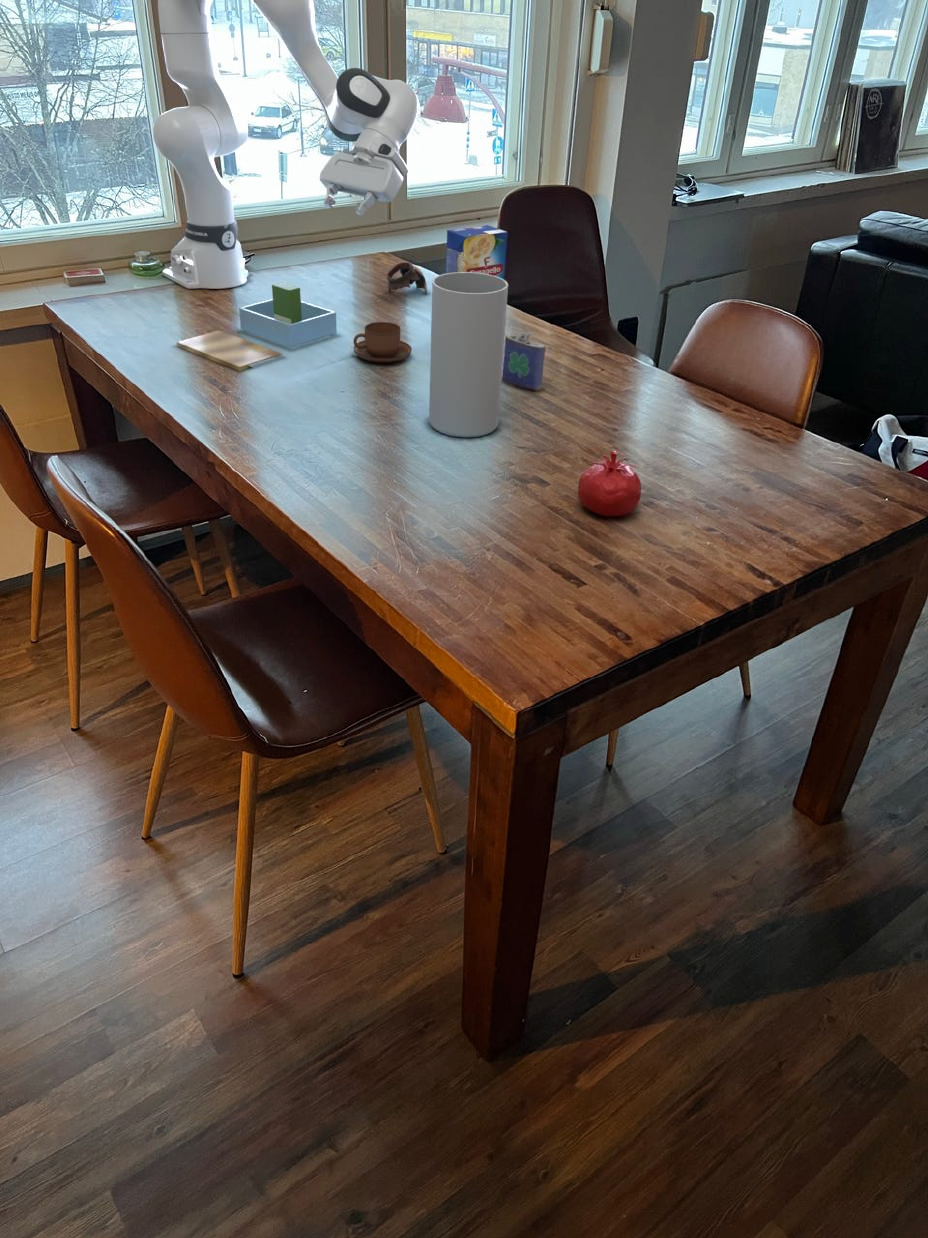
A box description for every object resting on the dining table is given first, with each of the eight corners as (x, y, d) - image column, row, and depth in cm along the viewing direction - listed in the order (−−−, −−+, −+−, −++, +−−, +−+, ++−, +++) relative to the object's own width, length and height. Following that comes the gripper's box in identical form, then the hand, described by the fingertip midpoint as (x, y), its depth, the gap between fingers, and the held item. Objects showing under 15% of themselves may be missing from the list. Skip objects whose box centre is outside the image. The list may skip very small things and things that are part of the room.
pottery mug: (432, 299, 230) (417, 271, 224) (397, 314, 232) (382, 287, 226) (428, 273, 237) (414, 246, 231) (395, 288, 240) (380, 262, 234)
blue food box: (500, 334, 209) (507, 231, 196) (461, 342, 203) (466, 237, 190) (482, 326, 213) (487, 224, 200) (443, 333, 208) (446, 229, 195)
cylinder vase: (464, 405, 175) (470, 268, 160) (512, 426, 167) (523, 284, 153) (414, 422, 167) (416, 279, 153) (463, 445, 160) (470, 298, 146)
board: (177, 346, 194) (176, 341, 193) (219, 334, 201) (218, 330, 200) (240, 371, 184) (239, 366, 183) (282, 357, 191) (281, 353, 190)
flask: (544, 389, 183) (548, 335, 177) (535, 393, 181) (539, 339, 175) (507, 377, 187) (510, 324, 181) (498, 381, 186) (501, 327, 179)
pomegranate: (595, 528, 138) (603, 472, 133) (563, 498, 146) (570, 443, 140) (651, 517, 142) (662, 462, 136) (617, 489, 149) (626, 435, 144)
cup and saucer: (377, 371, 187) (376, 341, 183) (342, 354, 194) (341, 324, 191) (423, 359, 194) (423, 330, 190) (388, 343, 201) (388, 314, 197)
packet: (274, 329, 203) (271, 284, 197) (285, 325, 205) (282, 281, 199) (292, 335, 200) (289, 290, 195) (302, 332, 202) (300, 287, 197)
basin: (241, 332, 203) (238, 307, 200) (286, 319, 211) (285, 295, 208) (291, 350, 195) (290, 325, 192) (336, 336, 203) (336, 311, 200)
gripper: (331, 137, 204) (301, 191, 203) (400, 150, 194) (369, 207, 193) (346, 158, 210) (317, 210, 209) (414, 171, 199) (384, 226, 199)
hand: (342, 209), depth 201 cm, fingers open, 8 cm apart
